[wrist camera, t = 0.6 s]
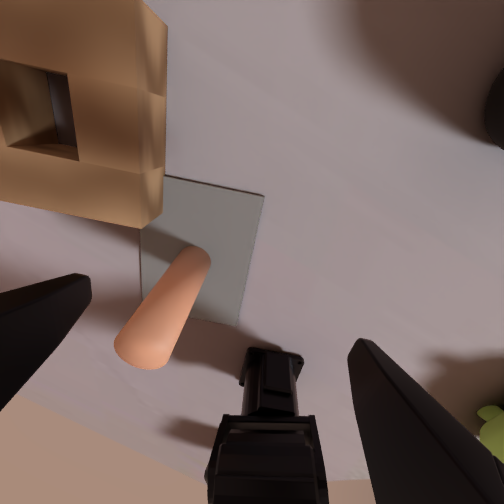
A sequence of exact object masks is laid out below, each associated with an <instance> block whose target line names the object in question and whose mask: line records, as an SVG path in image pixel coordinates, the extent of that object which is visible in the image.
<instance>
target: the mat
mask: <svg viewBox="0 0 504 504" xmlns="http://www.w3.org/2000/svg"><path fill="white" fill-rule="evenodd" d="M263 201H264V196H260V195H256V194H251V193H246V192H241V191H236V190H231V189H227V188H222V187H217V186H212V185H207V184H203V183H198V182H193V181H188V180H183V179H179V178H174V177H169V176H163V213H162V214H161V215H159V216H158V217H157V218H155V219H154V220H153V221H151V222H150V223H149V224H147V225H146V226H145V227H143V228H142V229H140V248H141V277H142V302H143V301H144V299H145V298H146V297H147V295H148V294H149V293H150V291H151V290H152V289H153V287H154V286H155V285H156V283H157V282H158V281H159V279H160V278H161V277H162V275H163V274H164V273H165V271H166V270H167V269H168V268H169V266H170V265H171V264H172V262H173V261H174V260H175V258H176V257H177V256H178V254H179V253H180V252H181V250H182V249H184V248H185V247H188V246H197V247H200V248H202V249H203V250H205V251H206V252H207V253H208V255H209V256H210V259H211V266H210V268H209V270H208V273H207V275H206V277H205V279H204V282H203V284H202V286H201V288H200V290H199V293H198V295H197V297H196V299H195V302H194V304H193V306H192V308H191V311H190V313H189V315H188V317H190V318H195V319H200V320H205V321H210V322H215V323H220V324H226V325H231V326H237V321H238V317H239V312H240V307H241V303H242V298H243V293H244V289H245V284H246V280H247V275H248V270H249V266H250V261H251V256H252V252H253V247H254V242H255V238H256V233H257V229H258V224H259V219H260V215H261V210H262V205H263Z"/></svg>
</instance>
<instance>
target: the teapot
mask: <svg viewBox="0 0 504 504" xmlns="http://www.w3.org/2000/svg"><path fill="white" fill-rule="evenodd" d="M477 415H478V416H479V417H481V418H482V419H484V420H485V421H487V422H486V423H485V424H484V425H483V426H482V427H481V429H480V442H481V443H482V444H483V445H484V446H485V447H486V448H487V449H489V450H490V451H491V453H492V455H494V456H496V457H497V458H498V459H499V460H500V461H501V462H502V463H504V411H503V410H502V409H501V408H500V407H498V406H493V405H491V406H485V407H483V408H481V409H479V410H478V411H477Z"/></svg>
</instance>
